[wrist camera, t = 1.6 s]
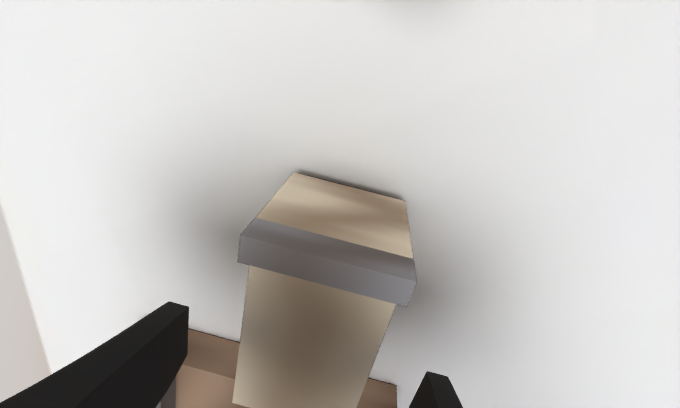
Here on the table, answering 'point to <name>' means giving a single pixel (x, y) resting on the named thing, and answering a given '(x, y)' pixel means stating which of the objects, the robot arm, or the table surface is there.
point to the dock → (219, 378)
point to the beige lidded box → (319, 293)
